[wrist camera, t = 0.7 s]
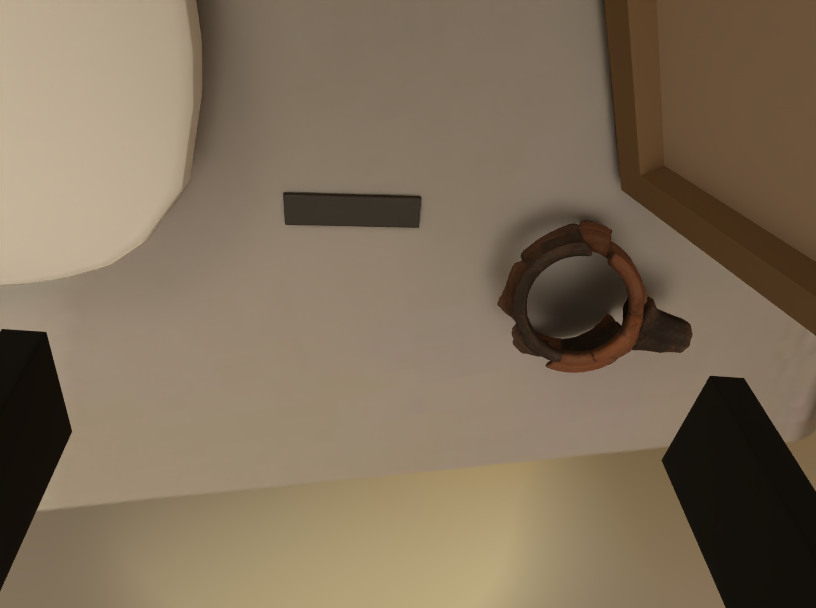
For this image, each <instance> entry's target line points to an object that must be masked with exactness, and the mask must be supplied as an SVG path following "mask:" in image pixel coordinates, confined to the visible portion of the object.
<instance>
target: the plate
mask: <svg viewBox="0 0 816 608" xmlns="http://www.w3.org/2000/svg"><path fill="white" fill-rule="evenodd" d="M201 98H202V38H201V31H200V24H199V16H198V9H197V2H196V0H0V284H26V283H33V282H40V281H48V280H55V279H62V278H66V277H70V276H74V275H77V274H81V273H84V272H88V271H91V270H95V269H98V268H102V267H106V266H109V265H111V264H113V263H114V262H116V261H117V260H119V259H120V258H121V257H123V256H124V255H126V254H127V253H129V252H130V251H132V250H133V249H135V248H136V247H138V246H139V245H141V244H142V243H144V242H145V241H146V240H147V239H148V238H149V237H150V235H151V234H152V232H153V231H154V230H155V228H156V227H157V225H158V224H159V223H160V221H161V220H162V219H163V217H164V216H165V214H166V213H167V212H168V210H169V209H170V207H171V206H172V205H173V203H174V202H175V200H176V199H177V198H178V196H179V195H180V194H181V192H182V191H183V189H184V188H185V187H186V185H187V184H188V182H189V180H190V176H191V169H192V162H193V155H194V148H195V141H196V134H197V126H198V119H199V112H200V105H201Z"/></svg>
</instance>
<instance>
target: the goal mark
mask: <svg viewBox="0 0 816 608" xmlns="http://www.w3.org/2000/svg"><path fill="white" fill-rule="evenodd" d="M283 197H284V213H285V225H322V226H365V227H408V228H419V218H420V205H421V197H420V196H387V195H350V194H313V193H284V195H283Z"/></svg>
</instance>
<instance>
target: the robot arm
mask: <svg viewBox="0 0 816 608" xmlns="http://www.w3.org/2000/svg"><path fill="white" fill-rule="evenodd" d="M71 433H72V429H71V425H70V422H69V418H68V414H67V410H66V406H65V402H64V398H63V395H62V391H61V387H60V383H59V379H58V375H57V372H56V368H55V364H54V360H53V356H52V352H51V348H50V345H49V341H48V337H47V333H46V332H38V331H23V330H7V329H2V330H1V332H0V590H1V588H2V586H3V584H4V581H5V579H6V577H7V575H8V573H9V570H10V568H11V566H12V563H13V561H14V559H15V557H16V555H17V553H18V550H19V548H20V546H21V544H22V541H23V539H24V537H25V535H26V533H27V530H28V528H29V526H30V524H31V521H32V519H33V517H34V515H35V513H36V510H37V508H38V506H39V504H40V502H41V499H42V497H43V495H44V493H45V490H46V488H47V486H48V484H49V482H50V479H51V477H52V475H53V473H54V470H55V468H56V466H57V464H58V462H59V459H60V457H61V455H62V453H63V450H64V448H65V446H66V444H67V442H68V439H69V437H70V435H71ZM662 462H663V464H664V467H665V469H666V471H667V474H668V476H669V478H670V481H671V483H672V485H673V487H674V490H675V492H676V495H677V497H678V499H679V501H680V504H681V506H682V508H683V510H684V513H685V515H686V518H687V520H688V522H689V524H690V527H691V529H692V531H693V533H694V536H695V538H696V540H697V543H698V545H699V547H700V550H701V552H702V554H703V557H704V559H705V561H706V564H707V566H708V568H709V570H710V573H711V575H712V577H713V579H714V582H715V584H716V586H717V589H718V591H719V593H720V596H721V598H722V600H723V602H724V605H725V607H726V608H816V491H815V490H814V488H813V487H812V485H811V483H810V482H809V480H808V479H807V477H806V475H805V474H804V472H803V471H802V469H801V468H800V466H799V464H798V463H797V461H796V460H795V458H794V456H793V455H792V453H791V452H790V450H789V449H788V447H787V445H786V444H785V442H784V441H783V439H782V437H781V436H780V434H779V433H778V431H777V430H776V428H775V426H774V425H773V423H772V422H771V420H770V419H769V417H768V415H767V414H766V412H765V411H764V409H763V407H762V406H761V404H760V403H759V401H758V400H757V398H756V396H755V395H754V393H753V392H752V390H751V388H750V387H749V385H748V384H747V382H746V381H745V379H744V378H734V377H719V376H710V377H709V378H708V380H707V382H706V384H705V385H704V387H703V389H702V391H701V392H700V394H699V396H698V398H697V399H696V401H695V403H694V405H693V406H692V408H691V410H690V412H689V413H688V415H687V417H686V419H685V420H684V422H683V424H682V426H681V427H680V429H679V431H678V433H677V434H676V436H675V438H674V439H673V441H672V443H671V445H670V446H669V448H668V450H667V452H666V453H665V455H664V457H663V459H662Z"/></svg>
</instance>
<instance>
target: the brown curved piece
mask: <svg viewBox="0 0 816 608" xmlns="http://www.w3.org/2000/svg"><path fill="white" fill-rule="evenodd" d="M611 233H612V230H611V229H609V228H608V227H606V226H604V225H601V224H598V223H594V222H591V221H584V222H580V223H579V225H578V224H569V225H566V226H563V227H561V228H558V229H556V230H554V231H552V232H550V233H549V234H547V235H545V236H543V237H541V238H540V239H538V240H537V241H535V242H534V243H533V244H532V245H530V246H529V247H528V248H526V249H525V250H524V251H523V252H522V253H521V258H522V261H520V262H516V263H515V264H514V265H513V267H512V269H511V271H510V274H509V277H508V280H507V283H506V286H505V289H504V291H503V293H502V295H501V297H500V298H499V301H498V303H497V305H498V306H499V307H501V309H502V310H503V311H504V312H505V313H506V314H508V315H509V316H511V317H512V318H513V319H514V320H515V321H516V325H515V326H514V327H513V328H512V329H513V330H512V336H513V338H514V340H513V345H514V346H515V347H516V348H517V349H518V350H519V351H520V352H521V353H525V354H530V355H534V356H542V357H544V358H546V359H548V360H550V361H549V362H548V363H547V364H546V367H547V368H550V369H553V370H557V371H562V372H586V371H591V370H595V369H599V368H602V367H604V366H606V365H609V364H612V363H613V362H615V361H616V360H617V359H618V358H619V357H621V356H623V355H625V354H626V353H628V352H630V351H631V350H646V351H653V352H659V353H662V352H676V353H677V352H679V353H681V352H683V351H684V350H685V349H686V348H688V347H689V345H690V340H691V338H692V330H691V325H690V324H689V323H688V322H687V321H685V320H683V319H681V318H679V317H676V316H673V315H671V314H668V313H666V312H663V311H661V310H659V309H657V308H656V305H655V303H654V300H653V299H652V298H650V297H647V295H646V290H645V287H644V285H643V281H642V278H641V276H640V274H639V272H638V270H637V268H636V267H635V265H634V264H633V262H632V260H631V258H630V257H629V256H628V255H627V253H626V252H625V251H624V250H622V249H621V248H620V247H619V246H618V245H617V244H615V243H613V242H611ZM591 251H593V252H597V253H599V254H601V255H603V256H605V257H606V258H607V259H608V264H609V265H610V266H611V267H612V268H613V269H614V270H616V271H617V273H618V274H619V275H620V276H621V278H622V280H623V281H624V283H625V286H626V289H627V293H628V298H627V300H626V302H625V304H624V306H623V322H622V326H621V325H620V324H619V323H618V322H616V321H615V320H614V318H613V317H612V316H611V315H609V314H606V315H605V316H604V317H603V319H602V320H601V321H600V322H599V323H598V324H597V325H596V326H595V327H594V328H592V329H591V330H589V331H587V332H586V333H583V334H581V335H579V336H577V337H573V338H567V339H560V338H553V337H549V336H545V335H543V334H540V333H538V332H535V331H534V329H533V328H532V326H531V323H530V321H529V319H528V317H527V297H528V293H529V290H530V288H531V286H532V284H533V282H534V281H535V279H536V278H537V277H538V275H539V274H540V273H541V272H542V271H543V270H545V269H546V268H547V267H548V266H550V265H551V264H553V263H555V262H557V261H559V260H561V259H564V258H568V257H573V256H591V255H592V252H591Z"/></svg>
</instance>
